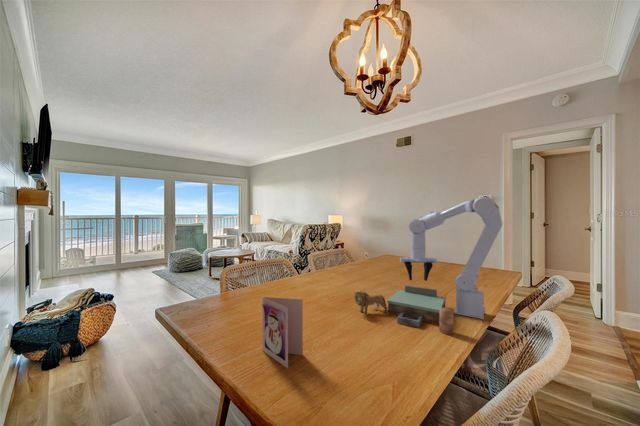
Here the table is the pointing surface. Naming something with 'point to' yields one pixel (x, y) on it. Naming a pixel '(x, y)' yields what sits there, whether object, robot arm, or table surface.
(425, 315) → the dark grey box base
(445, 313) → the key peg
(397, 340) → the table surface
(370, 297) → the lion figurine
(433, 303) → the lid
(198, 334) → the table surface
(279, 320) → the greeting card
